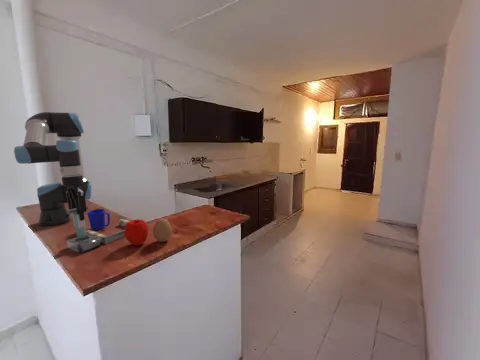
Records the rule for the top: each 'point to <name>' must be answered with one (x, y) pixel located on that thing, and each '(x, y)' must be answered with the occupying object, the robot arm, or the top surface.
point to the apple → (136, 231)
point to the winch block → (83, 243)
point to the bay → (111, 237)
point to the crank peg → (80, 231)
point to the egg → (162, 230)
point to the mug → (98, 219)
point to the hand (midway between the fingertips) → (80, 226)
